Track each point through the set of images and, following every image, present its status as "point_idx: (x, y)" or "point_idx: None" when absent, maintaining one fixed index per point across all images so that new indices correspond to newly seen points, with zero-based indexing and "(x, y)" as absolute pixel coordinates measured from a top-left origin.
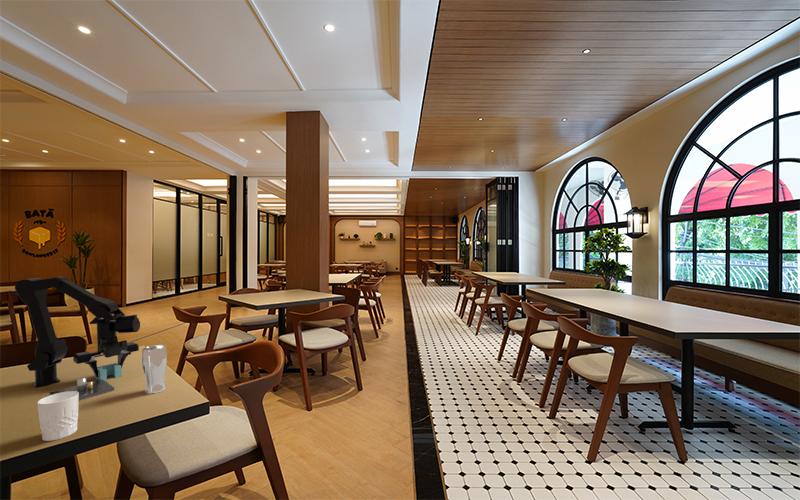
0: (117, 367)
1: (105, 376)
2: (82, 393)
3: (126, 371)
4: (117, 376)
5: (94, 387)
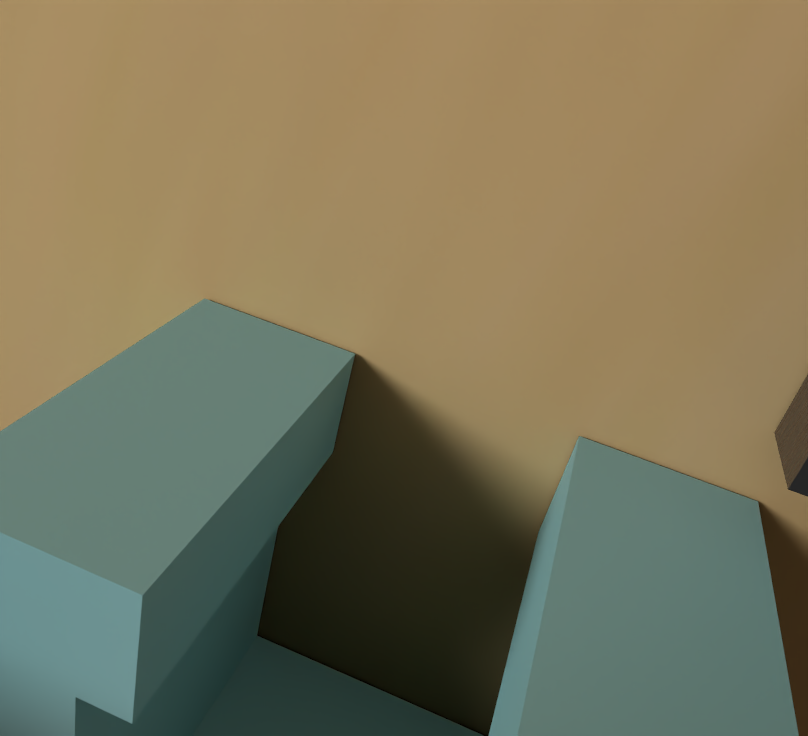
0: (79, 523)
1: (607, 525)
2: None
3: None
4: (295, 343)
5: None
